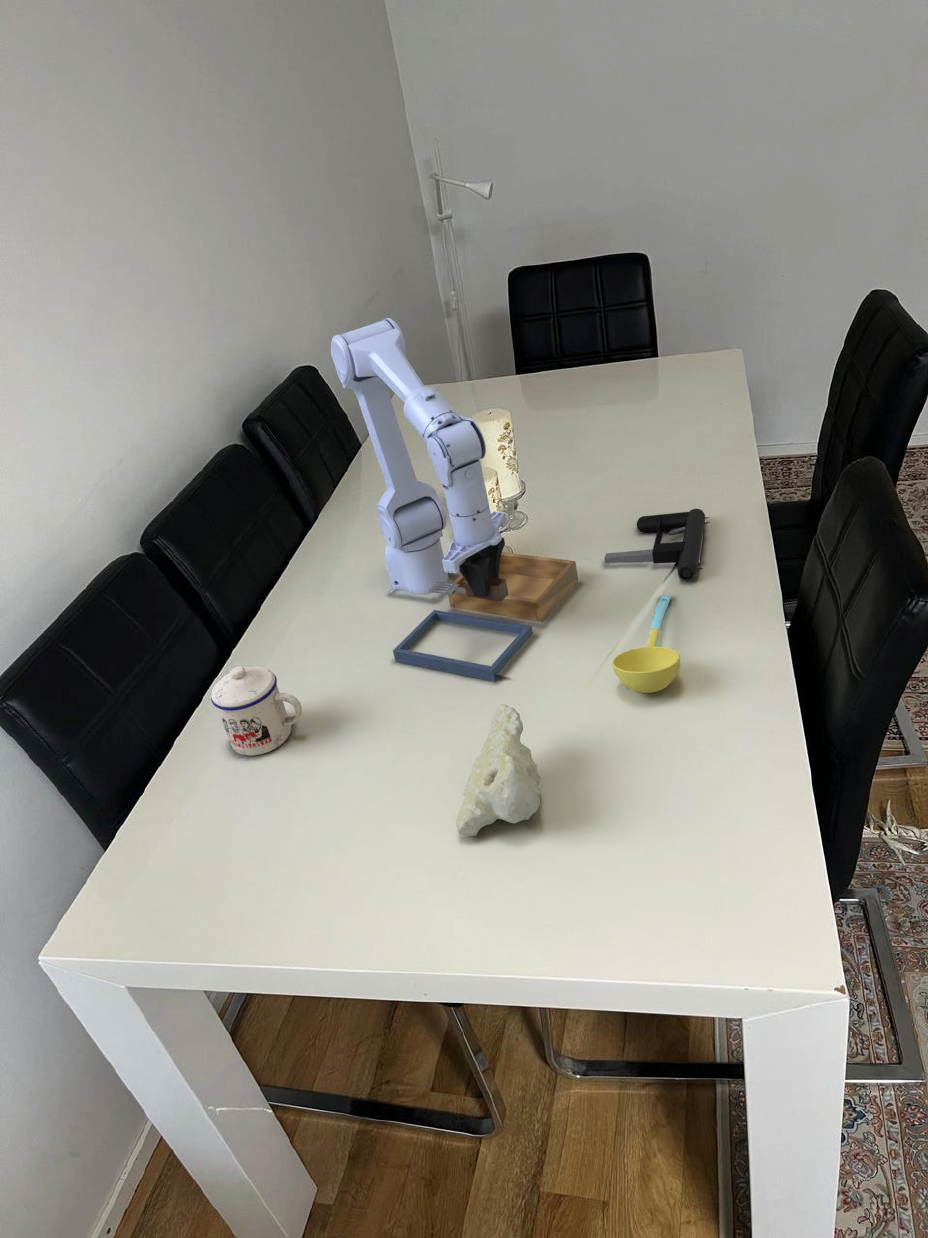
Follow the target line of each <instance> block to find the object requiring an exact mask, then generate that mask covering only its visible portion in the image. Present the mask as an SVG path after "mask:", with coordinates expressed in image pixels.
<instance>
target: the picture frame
mask: <svg viewBox="0 0 928 1238" xmlns="http://www.w3.org/2000/svg"><path fill="white" fill-rule="evenodd" d="M437 621H440V622H445V623H452V624H457V625H464V626H470V627H475V628H480V629H487V630H492V631H499V632H504V633H509V634H510V633H511V634H515V635H516V637H515V638H514V639H513V640H512V641H511V643H510V644H509V645H508V646H507V647H506V648H505V650H504V651H503V652H502V653H501V654H500V655H499V656H498V657H497V659H496V660H495V661H494V662H493V663H492V665H487V664H481V663H476V662H471V661H465V660H461V659H455V658H451V657H450V658H449V657H445V656H440V655H435V654H429V653H425V652H420V651H414V650H409V649H410V648H411V647H412V646H413V645H414V644H415V643H416V642H417V641H418V640H420V638H421V637H422V636H423V635H424V634H425V633H426V632H427V631H428V630H429V629H430V628H431V627H432V626H433V625H434V624H435V623H436V622H437ZM533 634H534V632H533V626H532V625H529V624H524V623H516V622H511V621H505V620H498V619H493V618H486V617H480V616H474V615H468V614H462V613H456V612H450V611H443V610H438V609H433V610H432V611H431V612H430V613H429V614H428V615H427V616H426V617H425V618H424V619H423V620H422V621H421V622H420V623H419V624H418V625H417V626H416V627H415V628H414V629H413V630H412V631H411V632H410V633H409V634H408V635H407V636H405V638H404V639H403V640H402V641H401V642H399V644H398V645H397V646H395V647H394V649H392V653H393V657H394V661H395V663H399V664H405V665H409V666H414V667H419V668H423V669H429V670H434V671H439V672H444V673H448V674H454V675H458V676H463V677H469V678H474V679H478V680H483V681H488V682H492V683H496V682H497V681H498V680H499V678H501V676H502V675H501V674H499V673H501V672H502V670H503V669H504V668H505V667H506V666H507V664H508V663H509V662H510V661H511V660H512V659H513V657H514V656H515V655H516V654H517V653H518V652H519V651H520V649H521V648H522V647H523V646H524V644H525V643H526V642H527V641H528V640H529V638H530V637H532V635H533Z"/></svg>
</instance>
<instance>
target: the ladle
mask: <svg viewBox="0 0 928 1238" xmlns="http://www.w3.org/2000/svg"><path fill="white" fill-rule="evenodd" d="M671 599H672V596H671V595H663V596H661V597H660V598H659V600H658V603H657V604H656V608H655V611H654V614H653V617H652V622H651V625H650V629H649V630H650V631H649V636H648V640H647V643H646V644H647V645H646V646H642V647H641V646H640V647H636V648H632V649H628V650H625V651H623V652H621V653H619V654H618V655H616V656H615V657H614V658H613V660H612V668H613V671H614V674H615V675H616V677H617V679H618V680H619V682H620V683H621V684H622V685H623V686H625V687H626V688H628V689H629V690H631V691H633V692H636V693H643V694H652V693H656V692H658V691H662V690H664V689H666V688H667V687H668V686H669V685H671V683H672V682H673V681H674V680H675V678H677V677H676V676H677V675H678V673H679V670H680V666H681V665H680V664H681V655H680V653H679V652H677V650H675V649H672V648H670V647H663V646H657V641H658V638H659V633H660V631H661V628H662V623H663V620H664V618H665V613H666V611H667V608H668V606H669V604H670V602H671Z"/></svg>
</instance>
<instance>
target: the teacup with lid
mask: <svg viewBox="0 0 928 1238" xmlns="http://www.w3.org/2000/svg"><path fill="white" fill-rule="evenodd" d="M277 683H278V679H277V676H276V674H275V673H274V672H273V670H270V668H267V667H263V666H260V665H259V666H258V665H253V666H244V667H243V666H235V667H233V668H231V670H230V671H229V672H228V673H227V674H225V675H224V676H223V677H221V678H220V679H219V680H217V682H216V683H214V684H215V685H214V686H213V687H212V691H211V693H210V700H211V703H212V705H213V706H214V707H215V708H216V710H217V713H218V715H219V718H220V721H221V723H222V725H223V727H224V730H225V732H226V735H227V738H228V740H229V742H230V745H231V747H232V749H233V751H235V752H236V753H237V754H240V755H242V756H259V755H263V754H267V753H270V752H271V751H273V750H275V749H277V748H278V747H280V746H281V745H282V744H283V743H285V742H286V741H287V739H288V738H289V736H290V735H291V732H292V725H294V724H296V723H297V722H298V721H299V720H300V718H301V716H302V712H303V706H302V703H301V701H300V700H299V699H298V698H297V697H296V696H294V695H293V694H291V693H288V692H287V693H286V692H280V690H279V687H278V684H277ZM284 702H287V703H289V704H290V705H291V706H292V707H293V708H294V712H295V715H292V716H289V714H288V711H287V709H286V707H285V703H284Z"/></svg>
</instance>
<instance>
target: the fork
mask: <svg viewBox="0 0 928 1238" xmlns="http://www.w3.org/2000/svg"><path fill="white" fill-rule="evenodd" d="M487 578H488V586H489V594H488V596H487V597H486V598H483V597H477V596H475V595H474V594H473V592H472V590H471V588H470V586H469V584H468V583H467V581H466V580H465V581H464V582H463V583H464V587H465V588H462V587H461V586H460V584H455V583H453V582H452V583H453V584H452V583H450V582H448V583H444V582H436V584H434V586H432V587H431V589H429V592H433V593H432V594H440V595H447V596H448V595H453V594H454V593H462V594H466V596H467V597H472V598H479V599H486V600H493V601H500V602H502V601H503V600H504V598H505V597H506V596H507V595H508V589H507V583H506V579H501V578H494V577H487Z"/></svg>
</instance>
